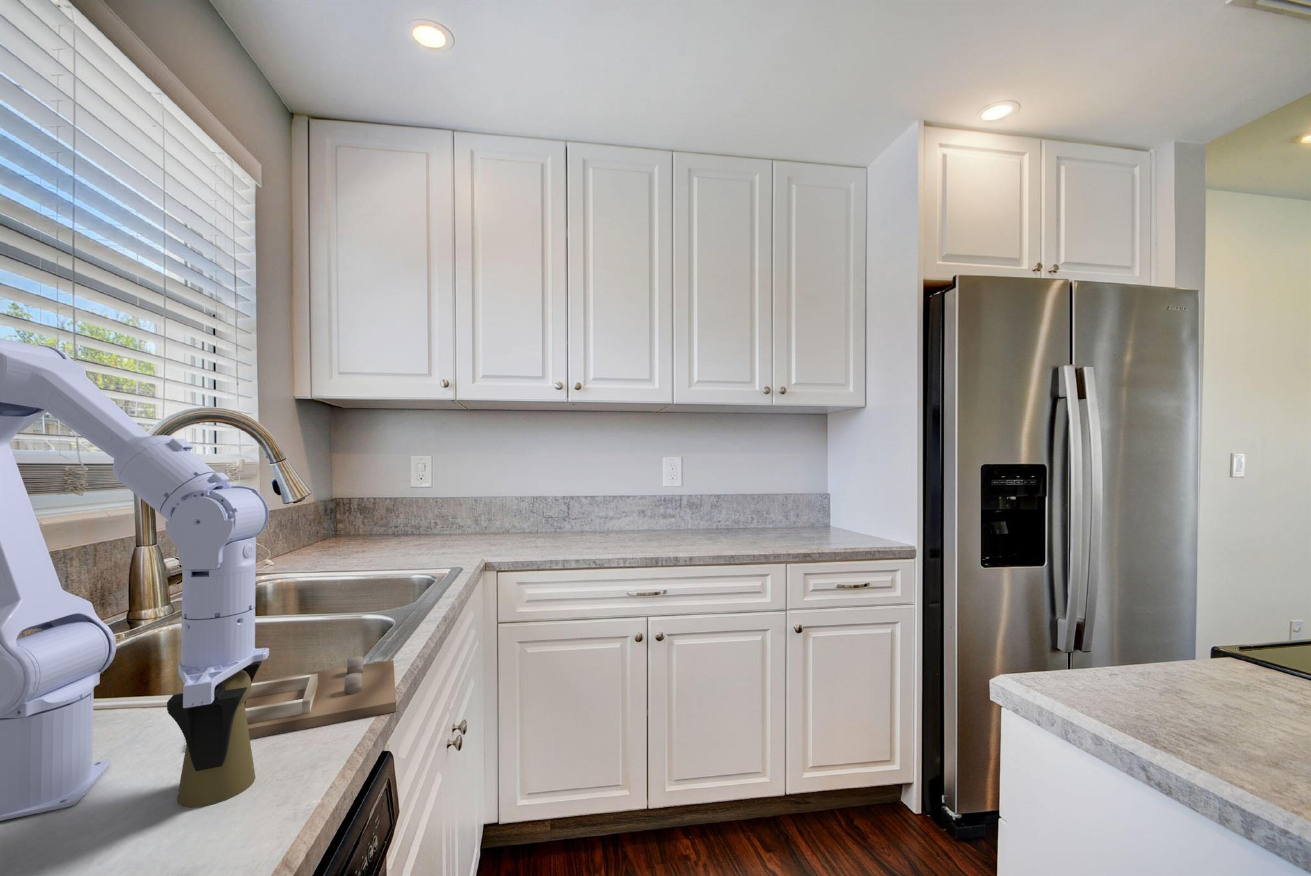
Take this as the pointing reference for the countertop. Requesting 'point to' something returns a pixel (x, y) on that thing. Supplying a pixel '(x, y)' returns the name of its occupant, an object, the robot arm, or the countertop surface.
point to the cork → (237, 764)
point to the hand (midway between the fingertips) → (217, 751)
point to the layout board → (320, 697)
